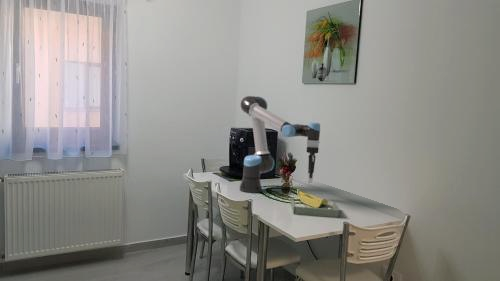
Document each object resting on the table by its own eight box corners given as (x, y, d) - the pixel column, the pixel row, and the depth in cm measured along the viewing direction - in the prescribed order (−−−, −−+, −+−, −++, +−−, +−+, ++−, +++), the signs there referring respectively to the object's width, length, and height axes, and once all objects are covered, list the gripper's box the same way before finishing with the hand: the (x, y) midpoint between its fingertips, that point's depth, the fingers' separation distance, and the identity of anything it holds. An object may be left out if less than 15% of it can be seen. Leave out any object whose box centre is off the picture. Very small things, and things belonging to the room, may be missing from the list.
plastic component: (329, 202, 230) (322, 197, 223) (325, 213, 229) (317, 208, 222) (303, 192, 243) (296, 187, 236) (299, 202, 242) (291, 198, 235)
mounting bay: (290, 205, 224) (291, 198, 224) (334, 208, 224) (334, 201, 223) (293, 214, 208) (294, 206, 207) (340, 217, 207) (341, 209, 207)
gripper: (320, 148, 234) (317, 185, 236) (317, 145, 247) (314, 180, 249) (308, 147, 234) (305, 184, 237) (305, 145, 247) (303, 180, 249)
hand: (310, 182), depth 243 cm, fingers closed
